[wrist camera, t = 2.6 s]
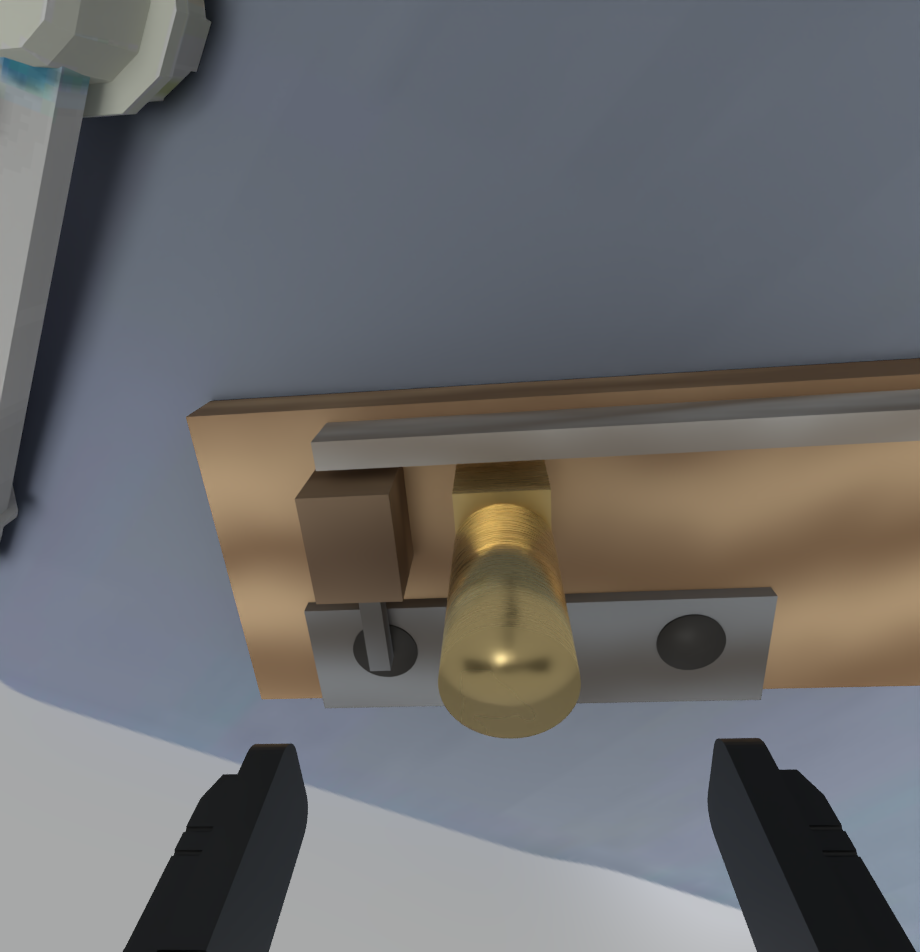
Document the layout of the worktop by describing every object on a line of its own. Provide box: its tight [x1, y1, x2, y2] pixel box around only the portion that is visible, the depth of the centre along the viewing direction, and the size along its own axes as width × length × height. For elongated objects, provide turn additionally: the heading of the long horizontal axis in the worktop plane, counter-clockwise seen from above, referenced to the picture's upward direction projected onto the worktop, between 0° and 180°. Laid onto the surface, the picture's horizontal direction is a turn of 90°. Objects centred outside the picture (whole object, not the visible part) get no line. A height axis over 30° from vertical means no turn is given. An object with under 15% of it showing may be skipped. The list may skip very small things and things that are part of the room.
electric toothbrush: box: [0, 0, 211, 541], centre depth 20 cm, size 5×7×25 cm
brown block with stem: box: [295, 467, 414, 671], centre depth 22 cm, size 8×3×3 cm, turn 4°
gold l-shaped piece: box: [438, 460, 581, 738], centre depth 18 cm, size 8×3×9 cm, turn 4°
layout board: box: [186, 358, 920, 708], centre depth 23 cm, size 13×28×4 cm, turn 94°
